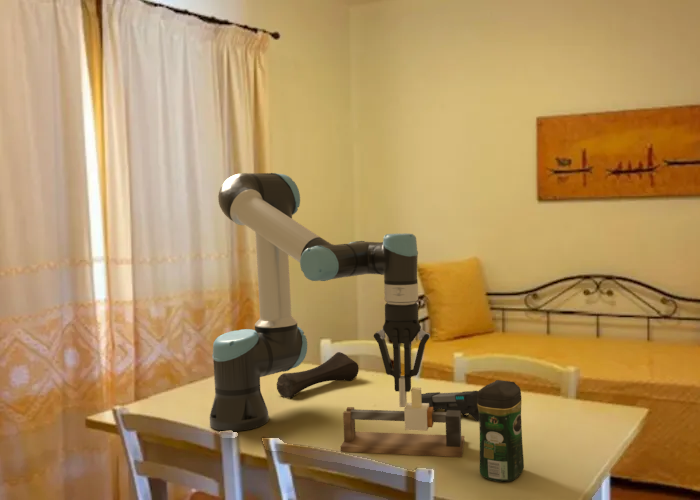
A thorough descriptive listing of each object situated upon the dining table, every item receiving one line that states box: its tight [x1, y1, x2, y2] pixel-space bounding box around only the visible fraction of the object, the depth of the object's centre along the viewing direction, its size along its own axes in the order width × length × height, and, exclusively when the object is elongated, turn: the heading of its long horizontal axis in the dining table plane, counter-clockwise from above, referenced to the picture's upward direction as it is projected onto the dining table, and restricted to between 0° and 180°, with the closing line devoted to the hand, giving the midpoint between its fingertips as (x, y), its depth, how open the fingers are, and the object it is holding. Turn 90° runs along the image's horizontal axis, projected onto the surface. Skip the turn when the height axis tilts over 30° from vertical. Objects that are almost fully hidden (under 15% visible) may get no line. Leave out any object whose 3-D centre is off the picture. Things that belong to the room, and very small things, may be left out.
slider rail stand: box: [340, 406, 466, 458], centre depth 154 cm, size 27×10×9 cm, turn 77°
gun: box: [421, 390, 479, 423], centre depth 177 cm, size 4×20×10 cm, turn 47°
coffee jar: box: [477, 379, 525, 483], centre depth 136 cm, size 10×8×19 cm
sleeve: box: [403, 386, 430, 432], centre depth 153 cm, size 5×5×9 cm
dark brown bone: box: [276, 351, 360, 399], centre depth 207 cm, size 11×10×28 cm
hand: (403, 405), depth 153 cm, fingers closed
